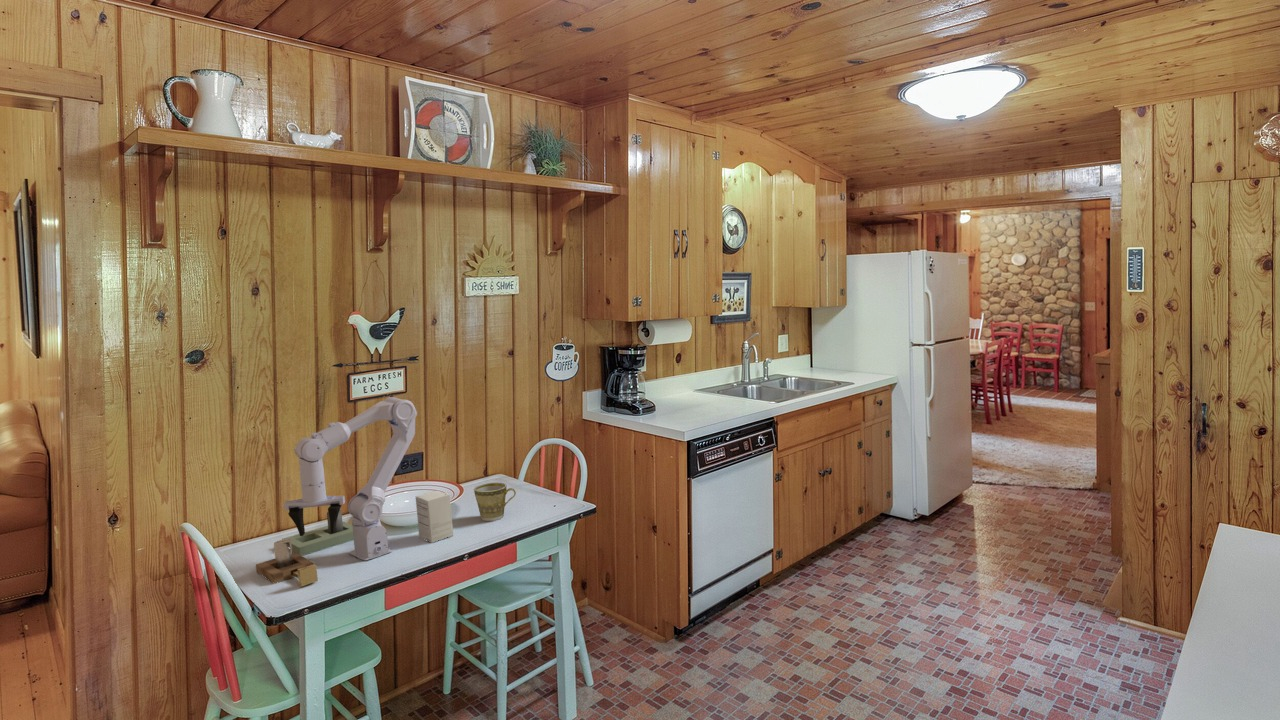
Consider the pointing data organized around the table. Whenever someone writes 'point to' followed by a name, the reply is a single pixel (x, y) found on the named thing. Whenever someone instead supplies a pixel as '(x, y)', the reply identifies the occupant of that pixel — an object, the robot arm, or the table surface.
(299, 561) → the socket holder
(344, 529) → the tool rack
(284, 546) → the steel peg
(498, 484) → the ceramic cup
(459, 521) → the table surface
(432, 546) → the table surface
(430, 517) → the supplement box
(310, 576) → the tan block with bar
